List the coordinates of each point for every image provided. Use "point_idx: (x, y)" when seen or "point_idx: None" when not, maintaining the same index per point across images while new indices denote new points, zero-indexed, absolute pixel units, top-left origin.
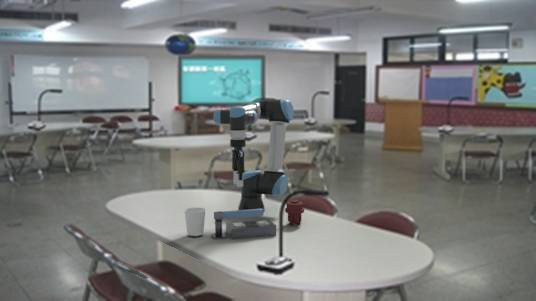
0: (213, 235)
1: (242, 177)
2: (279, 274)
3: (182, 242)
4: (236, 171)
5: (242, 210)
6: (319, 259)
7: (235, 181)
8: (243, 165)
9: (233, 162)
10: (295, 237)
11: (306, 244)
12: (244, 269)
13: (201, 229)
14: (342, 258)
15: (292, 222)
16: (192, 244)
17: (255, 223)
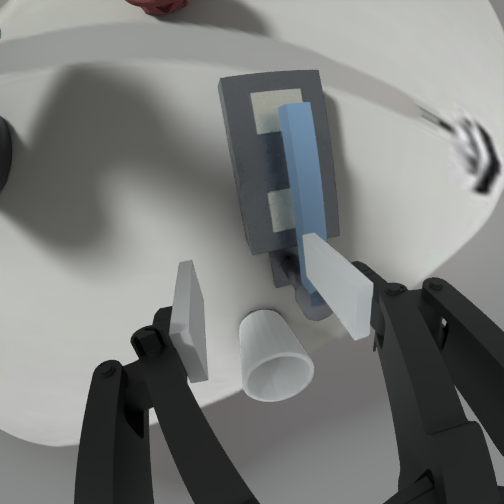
0: (289, 281)
1: (351, 268)
2: (501, 167)
3: (316, 344)
4: (199, 355)
5: (310, 205)
6: (468, 71)
7: (201, 301)
8: (488, 327)
9: (147, 467)
10: (333, 33)
11: (394, 39)
12: (481, 217)
13: (284, 322)
14: (463, 34)
15: (185, 2)
16: (338, 322)
17: (280, 139)
